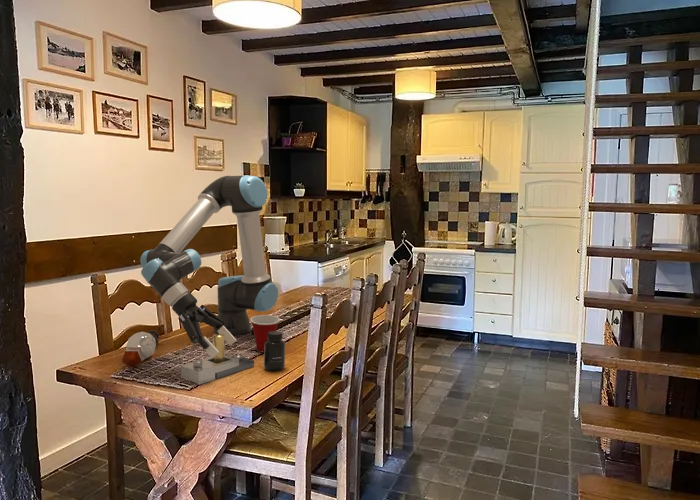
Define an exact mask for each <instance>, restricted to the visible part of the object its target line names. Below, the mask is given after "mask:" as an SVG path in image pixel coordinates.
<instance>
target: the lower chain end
mask: <svg viewBox="0 0 700 500" xmlns="http://www.w3.org/2000/svg"><path fill="white" fill-rule="evenodd" d="M231 357H233V358H236V359H239V366H236V367H233V368H230V369H227V370H223V371H220V372H217V373H215V380H218V379H221V378H224V377H227V376H229V375H232V374H235V373H239V372H241V371H245V370H248V369H251V368H253V367H255V360H254V359H251V358H246V357H243V354H237V353H236V354H234V355H232V356H231Z"/></svg>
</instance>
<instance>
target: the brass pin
mask: <svg viewBox="0 0 700 500" xmlns="http://www.w3.org/2000/svg"><path fill="white" fill-rule="evenodd" d="M212 344H213V346H214V347H215V348H216V349H217V350H218V351H219V353H218V354H217V355H216V356H215V357H214V358H213V363H216V364H219V363H222V362H225V355H226V354H225V349H226V348H225V339H224V334H216V333H215V334H212Z"/></svg>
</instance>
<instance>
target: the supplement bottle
mask: <svg viewBox="0 0 700 500" xmlns="http://www.w3.org/2000/svg"><path fill="white" fill-rule="evenodd" d="M283 337H284V336H283V332H282V331H279V330H276V331H271V332H268V337H267V338H268V340H267V341H266V342H265V344H264V352H263V367H264V370H265V371H267V372H268V371H269V372H280V371H282V370H284V369H285V367H286V342H285V340H283Z"/></svg>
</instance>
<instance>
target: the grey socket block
mask: <svg viewBox="0 0 700 500" xmlns="http://www.w3.org/2000/svg"><path fill="white" fill-rule="evenodd" d="M236 366H239V359H236V358H233V357H232V356H229V355H226V354H225V362H222V363H219V364H216V363H213V358H212V357H211V356H209V357H208V356H207V357H205V358H203V359H196V360H194V361H192V362H187V363H186V364H181V365H180V379H182V378H184V379H187V380H190V381H192V382H195V383H197V384H196V385H198V386H199V385H203V384H206V383H210V382H212V381H215V380H216V379H215V373H217V372H220V371H223V370H227V369H230V368H233V367H236ZM184 379H183V380H184ZM187 380H186V381H187ZM190 381H189V382H190ZM192 382H191V383H192ZM195 383H194V384H195Z"/></svg>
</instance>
